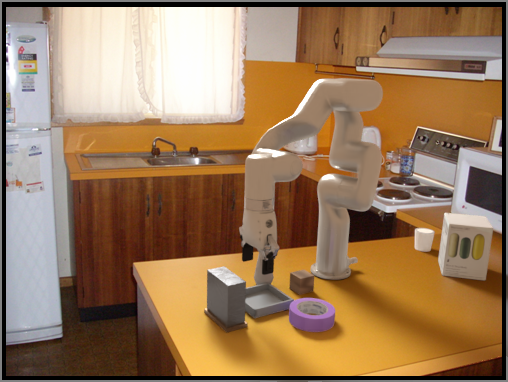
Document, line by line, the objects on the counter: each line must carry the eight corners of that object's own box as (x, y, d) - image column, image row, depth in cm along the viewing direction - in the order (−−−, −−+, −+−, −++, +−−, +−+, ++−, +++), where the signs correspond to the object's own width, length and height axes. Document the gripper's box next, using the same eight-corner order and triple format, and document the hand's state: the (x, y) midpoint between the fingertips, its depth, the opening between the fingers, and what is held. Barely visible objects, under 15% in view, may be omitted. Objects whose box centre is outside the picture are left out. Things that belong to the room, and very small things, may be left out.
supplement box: (441, 276, 165) (448, 223, 160) (437, 261, 177) (443, 211, 173) (486, 281, 162) (494, 227, 157) (479, 265, 174) (486, 215, 170)
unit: (224, 307, 139) (225, 265, 137) (247, 326, 130) (249, 282, 127) (204, 312, 136) (204, 269, 133) (226, 332, 126) (227, 287, 124)
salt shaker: (262, 279, 158) (263, 238, 155) (277, 284, 154) (278, 243, 151) (249, 285, 153) (250, 243, 150) (264, 290, 150) (266, 248, 147)
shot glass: (434, 248, 189) (436, 229, 188) (429, 253, 184) (432, 234, 182) (415, 244, 193) (417, 226, 191) (410, 249, 187) (412, 231, 186)
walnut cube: (303, 285, 155) (303, 269, 154) (313, 291, 151) (314, 275, 150) (289, 288, 152) (290, 272, 151) (299, 295, 148) (300, 278, 147)
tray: (268, 290, 150) (268, 282, 150) (293, 307, 140) (293, 299, 140) (230, 299, 144) (231, 291, 143) (254, 318, 134) (254, 309, 133)
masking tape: (330, 311, 140) (331, 298, 139) (337, 333, 128) (338, 319, 127) (287, 309, 139) (288, 296, 139) (290, 332, 128) (291, 318, 127)
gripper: (291, 210, 126) (288, 276, 130) (253, 193, 140) (252, 253, 144) (265, 214, 122) (263, 282, 126) (229, 197, 136) (228, 258, 140)
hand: (257, 266), depth 135 cm, fingers open, 9 cm apart
